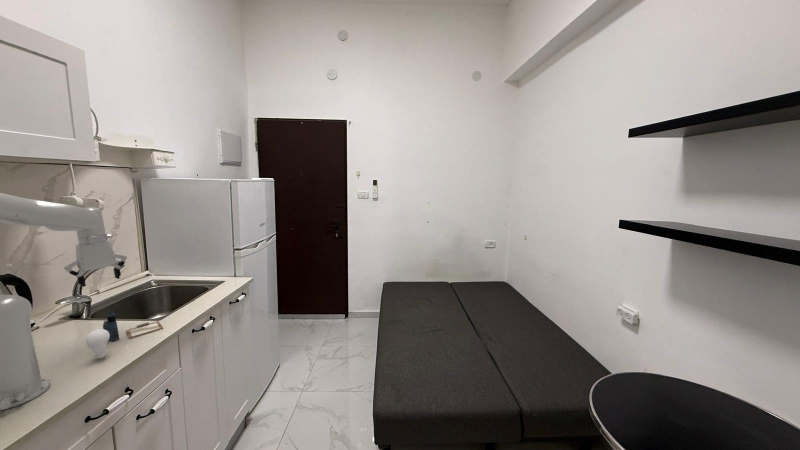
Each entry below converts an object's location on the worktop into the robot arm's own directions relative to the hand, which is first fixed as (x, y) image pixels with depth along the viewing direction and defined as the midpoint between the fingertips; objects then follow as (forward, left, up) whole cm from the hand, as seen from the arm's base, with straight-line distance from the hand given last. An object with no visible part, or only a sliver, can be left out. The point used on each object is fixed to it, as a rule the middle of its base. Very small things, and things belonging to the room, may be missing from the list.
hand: (101, 281), depth 115 cm
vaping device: (-2, 0, -25) cm, 25 cm away
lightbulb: (-16, +4, -25) cm, 29 cm away
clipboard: (-2, -10, -24) cm, 26 cm away
